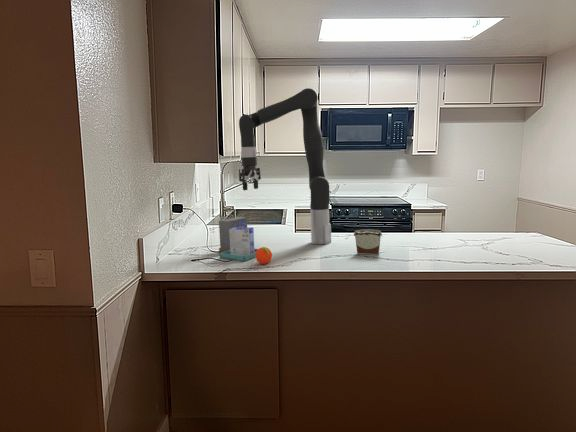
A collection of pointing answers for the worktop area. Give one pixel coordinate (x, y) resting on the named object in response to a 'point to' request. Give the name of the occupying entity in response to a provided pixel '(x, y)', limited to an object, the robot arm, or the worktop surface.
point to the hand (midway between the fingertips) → (250, 189)
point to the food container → (368, 241)
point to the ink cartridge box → (241, 240)
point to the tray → (237, 256)
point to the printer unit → (224, 231)
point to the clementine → (263, 255)
